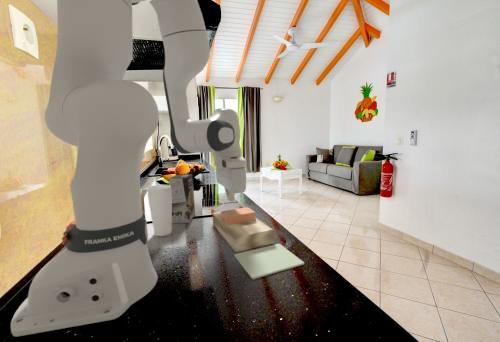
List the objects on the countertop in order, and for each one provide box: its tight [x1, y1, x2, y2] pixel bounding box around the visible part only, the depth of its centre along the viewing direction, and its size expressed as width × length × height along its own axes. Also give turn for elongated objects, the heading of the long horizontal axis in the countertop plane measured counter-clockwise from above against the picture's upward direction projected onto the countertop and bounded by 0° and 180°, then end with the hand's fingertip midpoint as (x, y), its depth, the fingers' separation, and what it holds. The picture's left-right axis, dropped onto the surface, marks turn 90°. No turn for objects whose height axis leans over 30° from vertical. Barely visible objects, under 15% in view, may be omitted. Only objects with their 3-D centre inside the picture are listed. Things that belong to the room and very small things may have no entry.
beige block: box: [212, 211, 274, 253], centre depth 72 cm, size 11×22×4 cm, turn 24°
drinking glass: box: [147, 184, 173, 237], centre depth 73 cm, size 7×7×15 cm
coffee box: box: [168, 173, 196, 224], centre depth 86 cm, size 9×6×16 cm
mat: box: [233, 243, 305, 280], centre depth 56 cm, size 13×11×1 cm
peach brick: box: [220, 206, 257, 225], centre depth 73 cm, size 9×6×2 cm, turn 114°
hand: (230, 200), depth 80 cm, fingers closed
